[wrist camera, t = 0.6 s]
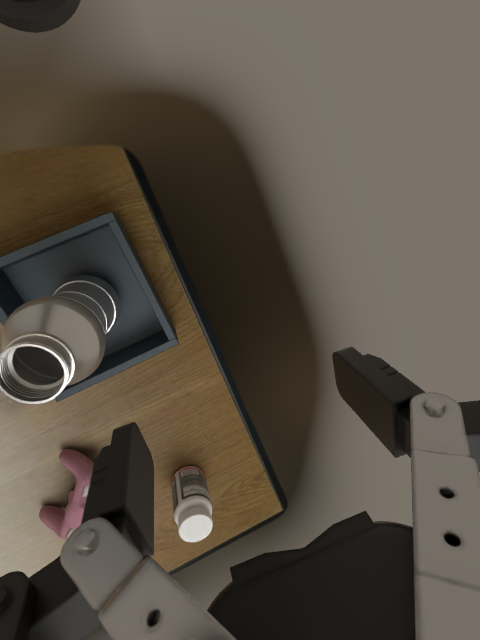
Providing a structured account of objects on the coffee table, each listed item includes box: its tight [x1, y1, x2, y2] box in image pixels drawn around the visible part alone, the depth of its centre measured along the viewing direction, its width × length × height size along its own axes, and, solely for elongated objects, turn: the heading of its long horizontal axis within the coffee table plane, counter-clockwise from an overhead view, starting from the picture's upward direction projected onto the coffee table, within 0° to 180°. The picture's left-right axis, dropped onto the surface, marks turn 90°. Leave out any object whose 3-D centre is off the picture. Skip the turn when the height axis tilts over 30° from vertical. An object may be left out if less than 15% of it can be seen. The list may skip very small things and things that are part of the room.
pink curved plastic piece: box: [39, 449, 94, 539], centre depth 40 cm, size 10×5×7 cm, turn 157°
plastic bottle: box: [0, 275, 121, 404], centre depth 28 cm, size 6×7×20 cm
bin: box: [0, 212, 179, 402], centre depth 35 cm, size 15×14×6 cm
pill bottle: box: [171, 466, 213, 542], centre depth 43 cm, size 5×5×8 cm
